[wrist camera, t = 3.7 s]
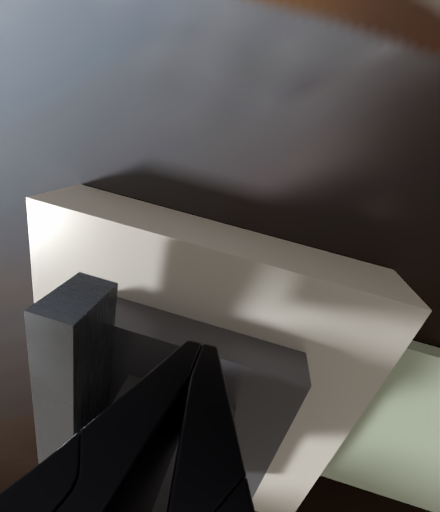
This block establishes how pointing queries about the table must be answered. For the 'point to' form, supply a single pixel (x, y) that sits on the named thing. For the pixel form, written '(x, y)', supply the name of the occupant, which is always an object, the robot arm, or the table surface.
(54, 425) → the bar
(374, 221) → the table surface
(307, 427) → the socket block
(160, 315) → the plug
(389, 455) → the pad
